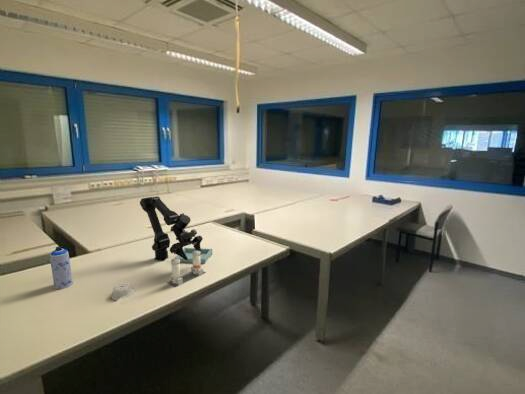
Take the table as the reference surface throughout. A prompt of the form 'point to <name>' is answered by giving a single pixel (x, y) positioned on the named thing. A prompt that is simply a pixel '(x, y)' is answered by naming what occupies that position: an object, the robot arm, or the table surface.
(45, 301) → the table surface
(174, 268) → the fuse
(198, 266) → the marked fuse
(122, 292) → the mechanical component
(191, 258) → the tray
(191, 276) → the fuse holder
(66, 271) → the aerosol can
